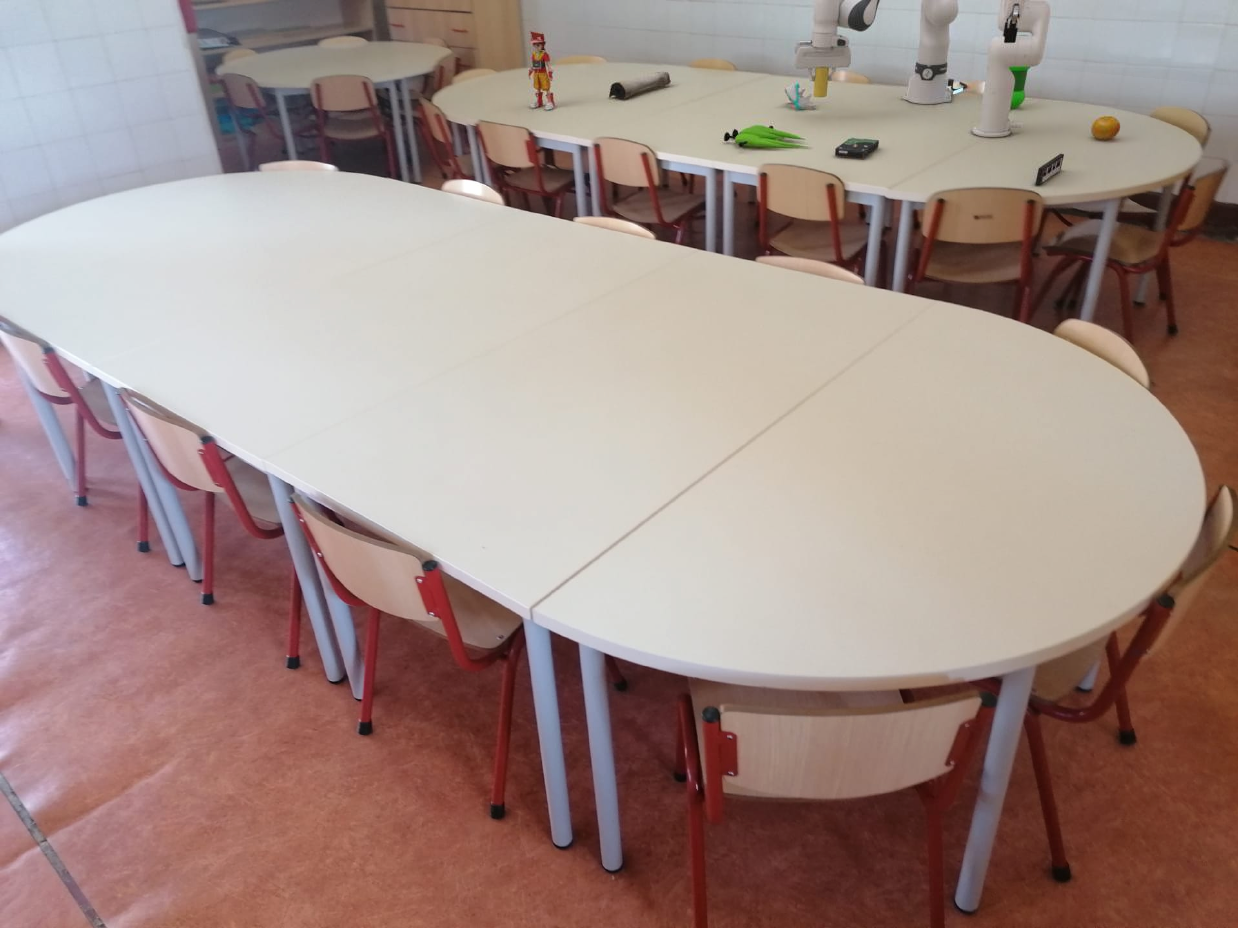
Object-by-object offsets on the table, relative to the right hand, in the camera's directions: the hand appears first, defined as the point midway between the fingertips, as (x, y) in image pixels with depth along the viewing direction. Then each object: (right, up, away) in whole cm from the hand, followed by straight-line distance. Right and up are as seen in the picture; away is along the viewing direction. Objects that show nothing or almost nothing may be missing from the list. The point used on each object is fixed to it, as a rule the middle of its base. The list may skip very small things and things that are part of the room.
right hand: (1008, 39), depth 271 cm
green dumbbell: (+32, +9, +73) cm, 81 cm away
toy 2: (-64, -14, +50) cm, 82 cm away
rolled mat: (-108, +36, +126) cm, 170 cm away
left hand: (-43, +15, +63) cm, 78 cm away
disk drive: (-37, -22, +35) cm, 56 cm away
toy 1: (-151, +24, +112) cm, 189 cm away
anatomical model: (-45, +16, +92) cm, 104 cm away
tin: (-42, +10, +66) cm, 79 cm away
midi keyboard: (+14, -41, +4) cm, 43 cm away
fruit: (+47, -18, +34) cm, 61 cm away
